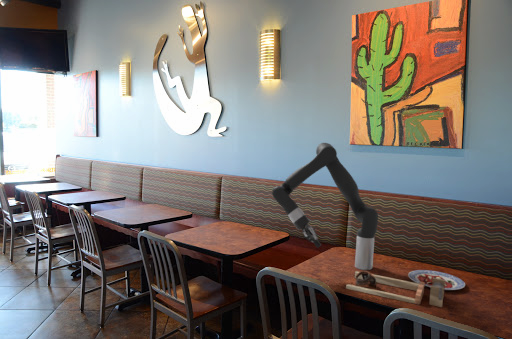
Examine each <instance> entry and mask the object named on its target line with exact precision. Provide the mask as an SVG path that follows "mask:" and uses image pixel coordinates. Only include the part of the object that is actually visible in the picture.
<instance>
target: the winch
mask: <svg viewBox="0 0 512 339" xmlns="http://www.w3.org/2000/svg"><path fill="white" fill-rule="evenodd" d="M444 288H445V280H443V279H438V278H433V282H432V285H431V288H430V291H429V304H428V305H429V306H430V305H431V306H435V307H437V308H438V307H439V308H443V300H444V296H445V290H444Z"/></svg>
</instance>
